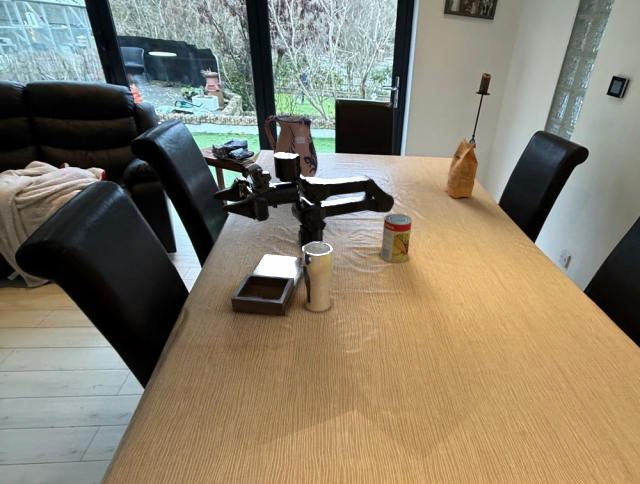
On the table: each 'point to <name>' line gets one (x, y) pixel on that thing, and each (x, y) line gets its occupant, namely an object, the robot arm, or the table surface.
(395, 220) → the canned food
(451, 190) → the coffee package
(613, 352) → the table surface
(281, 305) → the dark rectangular tray
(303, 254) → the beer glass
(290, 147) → the ceramic pitcher
